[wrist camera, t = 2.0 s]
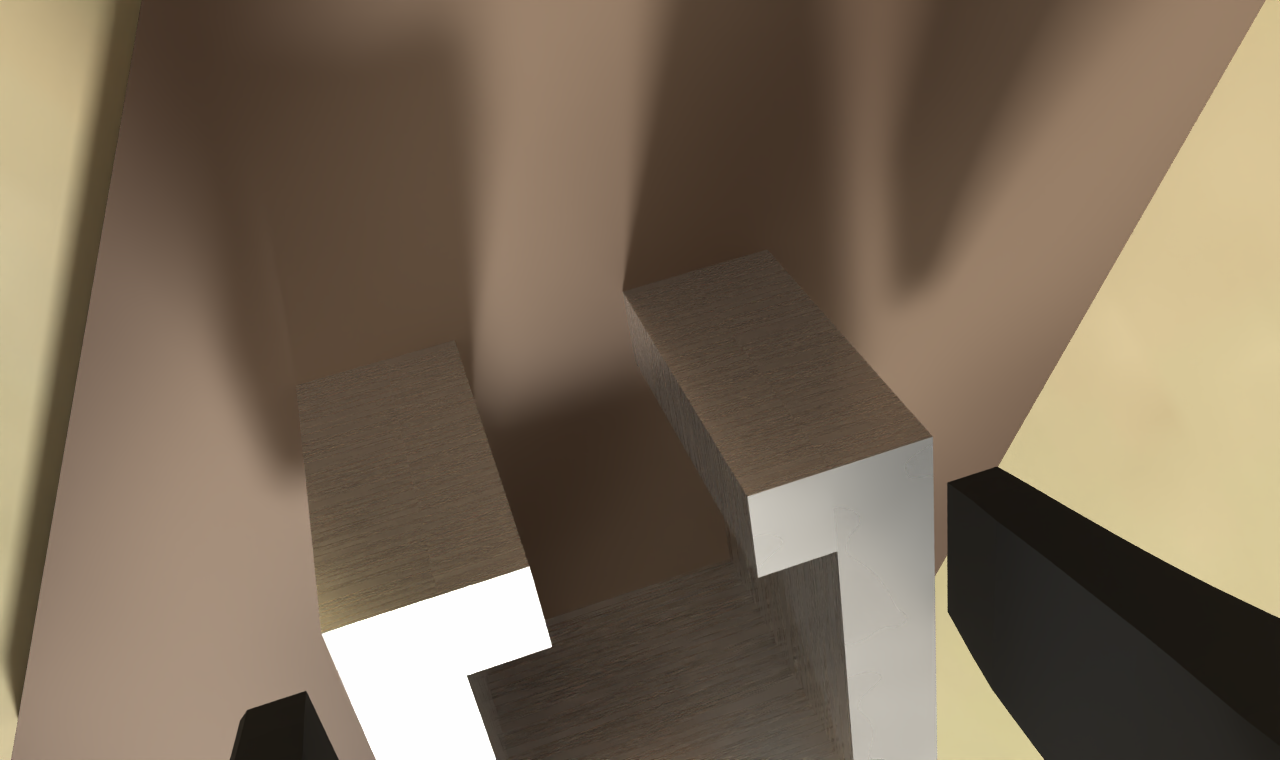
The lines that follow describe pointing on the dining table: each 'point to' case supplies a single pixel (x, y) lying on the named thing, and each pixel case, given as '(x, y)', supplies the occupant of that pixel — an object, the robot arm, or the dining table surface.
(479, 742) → the grey slotted block
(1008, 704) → the robot arm
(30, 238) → the dining table surface
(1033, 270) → the base board
